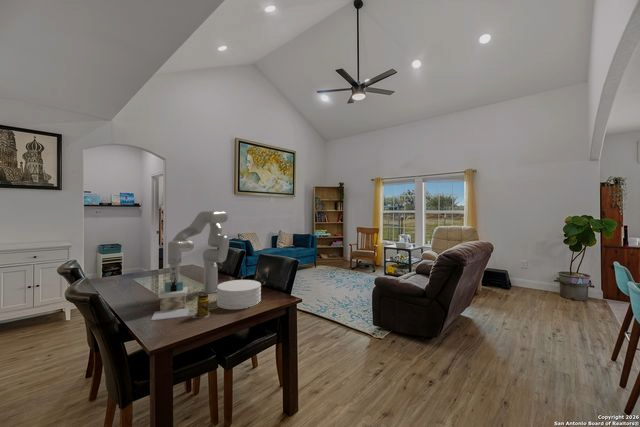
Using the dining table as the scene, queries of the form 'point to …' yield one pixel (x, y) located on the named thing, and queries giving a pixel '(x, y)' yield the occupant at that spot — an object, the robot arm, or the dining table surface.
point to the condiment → (202, 306)
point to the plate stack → (238, 294)
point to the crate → (172, 303)
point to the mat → (170, 314)
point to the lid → (167, 291)
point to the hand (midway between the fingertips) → (174, 289)
